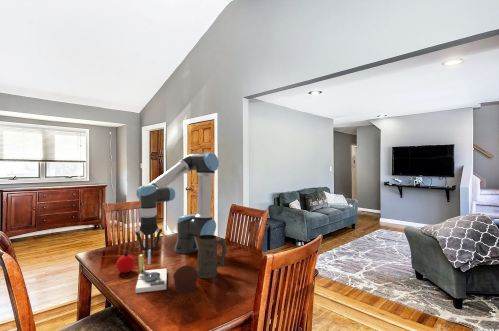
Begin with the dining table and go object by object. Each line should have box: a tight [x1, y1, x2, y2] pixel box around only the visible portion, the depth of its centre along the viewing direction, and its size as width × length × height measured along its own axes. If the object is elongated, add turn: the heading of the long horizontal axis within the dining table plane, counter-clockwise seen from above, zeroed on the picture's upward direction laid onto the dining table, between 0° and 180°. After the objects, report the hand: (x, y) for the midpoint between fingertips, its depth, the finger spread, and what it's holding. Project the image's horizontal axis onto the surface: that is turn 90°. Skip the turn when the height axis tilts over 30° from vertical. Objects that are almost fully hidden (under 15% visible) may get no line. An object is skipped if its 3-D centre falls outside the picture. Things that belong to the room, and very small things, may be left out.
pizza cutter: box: [138, 253, 160, 282], centre depth 129 cm, size 13×7×10 cm, turn 59°
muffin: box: [172, 265, 199, 295], centre depth 123 cm, size 12×11×10 cm
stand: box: [135, 268, 168, 294], centre depth 130 cm, size 13×20×4 cm, turn 17°
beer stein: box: [196, 234, 228, 279], centre depth 140 cm, size 15×11×20 cm
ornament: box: [116, 252, 136, 274], centre depth 141 cm, size 9×9×10 cm
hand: (149, 263), depth 134 cm, fingers closed
